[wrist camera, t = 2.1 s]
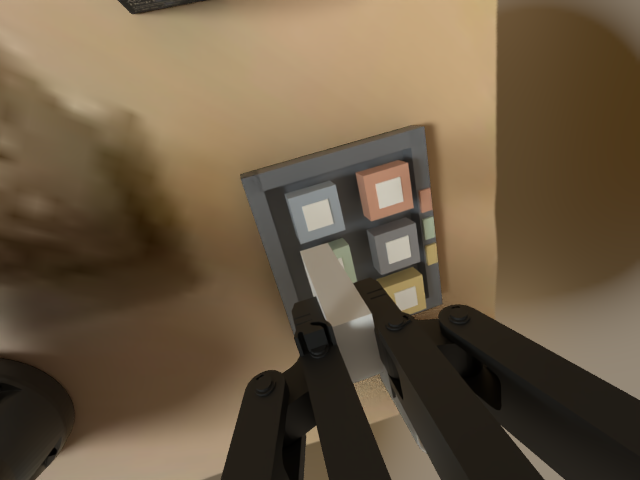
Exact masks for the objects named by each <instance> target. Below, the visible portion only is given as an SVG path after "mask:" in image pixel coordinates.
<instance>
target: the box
mask: <svg viewBox="0 0 640 480" xmlns="http://www.w3.org/2000/svg"><path fill="white" fill-rule="evenodd" d="M118 1H119V2H120V3H121V4H122V5H123V6H124V7H125V8H126V9H127V10H128V11H129V12H130V13H131V14H136V13H141V12H146V11H151V10H157V9H162V8H167V7H172V6H177V5H183V4H188V3H193V2H199V1H204V0H118Z"/></svg>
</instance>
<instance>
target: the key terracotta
mask: <svg viewBox="0 0 640 480" xmlns="http://www.w3.org/2000/svg"><path fill="white" fill-rule="evenodd" d="M356 178H357V183H358V188H359V193H360V199H361V204H362V209H363V214H364V216H365V217H366V218H368V219H369V220H370V221H374V220H377V219H381V218H384V217H387V216H390V215H393V214H396V213H399V212H402V211H405V210H408V209H412V208H414V206H413V198H412V190H411V182H410V174H409V167H408V163H407V162H403V161H400V160H396V161H393V162H390V163H386V164H383V165H380V166H376V167H373V168H370V169H366V170H363V171H360V172H356Z"/></svg>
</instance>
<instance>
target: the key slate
mask: <svg viewBox="0 0 640 480" xmlns="http://www.w3.org/2000/svg"><path fill="white" fill-rule="evenodd" d="M285 198H286V201H287V205H288V208H289V212H290V215H291V218H292V222H293V225H294V229H295V232H296V236H297V238H298V240H299V242H300V244H303V243H306V242H309V241H312V240H315V239H319V238H322V237H325V236H328V235H331V234H334V233H337V232H340V231H343V230H346V229H345V225H344V220H343V216H342V211H341V207H340V202H339V198H338V193H337V189H336V185H335V184H334V183H332V182H331V181H326V182H323V183H320V184H316V185H313V186H310V187H306V188H303V189H300V190H296V191H293V192H290V193H286V194H285Z"/></svg>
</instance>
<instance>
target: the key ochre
mask: <svg viewBox="0 0 640 480" xmlns="http://www.w3.org/2000/svg"><path fill="white" fill-rule="evenodd" d="M376 281H378V282H379V283H380V284H381V286H382V287H383V289H384V290H385V291H386V292H387V294H388V295H389V296H390V297H391V299H392V300H393V301H394V302H395V304H396V305H397V306H398V308H399V309H400V310H401V311H402V312H405V313H408V314H413V313H415V312H418V311H421V310H424V309H426V300H425V292H424V285H423V277H422V274H421V273H420V272H418V271H417V270H416V269H415V268H414V267H411V268H408V269H405V270H402V271H399V272H396V273H393V274H391V275H388V276H385V277H382V278H379V279H376Z"/></svg>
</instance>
